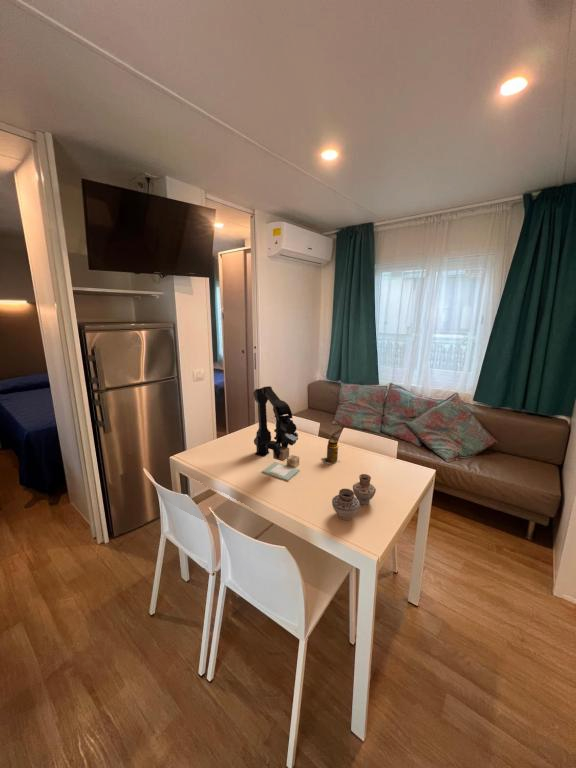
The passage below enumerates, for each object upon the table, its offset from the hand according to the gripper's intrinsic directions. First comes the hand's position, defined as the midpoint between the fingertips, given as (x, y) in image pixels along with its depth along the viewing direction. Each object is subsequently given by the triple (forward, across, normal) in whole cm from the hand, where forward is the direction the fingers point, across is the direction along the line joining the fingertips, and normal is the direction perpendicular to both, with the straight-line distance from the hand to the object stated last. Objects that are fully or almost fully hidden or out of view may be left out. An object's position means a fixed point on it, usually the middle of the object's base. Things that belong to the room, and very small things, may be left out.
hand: (281, 455), depth 156 cm
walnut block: (+1, 0, 0) cm, 1 cm away
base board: (+9, 0, 0) cm, 9 cm away
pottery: (+9, -9, -43) cm, 45 cm away
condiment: (+9, +26, -17) cm, 32 cm away
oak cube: (+9, +9, -2) cm, 13 cm away
